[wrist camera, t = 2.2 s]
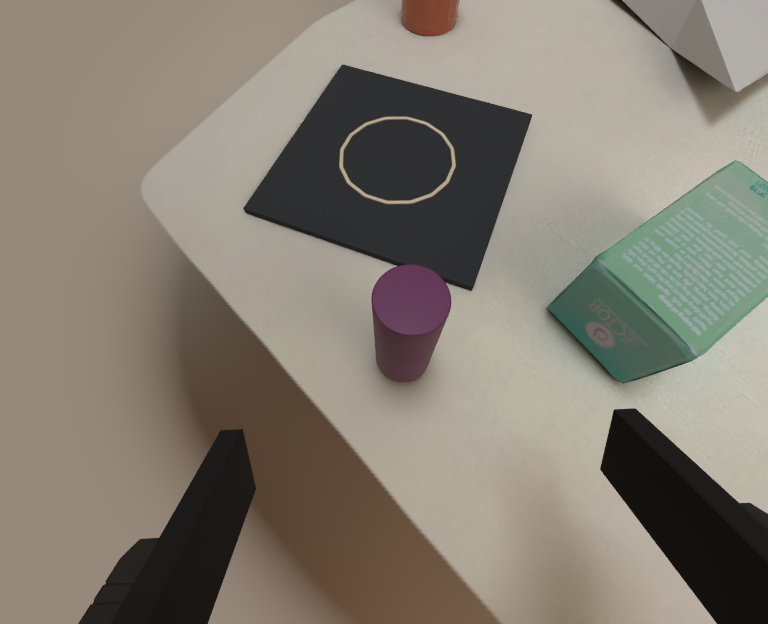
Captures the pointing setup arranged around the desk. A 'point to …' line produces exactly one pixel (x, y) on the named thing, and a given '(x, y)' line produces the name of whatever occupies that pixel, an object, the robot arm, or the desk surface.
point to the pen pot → (429, 16)
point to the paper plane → (713, 35)
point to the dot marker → (408, 319)
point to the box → (674, 279)
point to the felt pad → (396, 173)
